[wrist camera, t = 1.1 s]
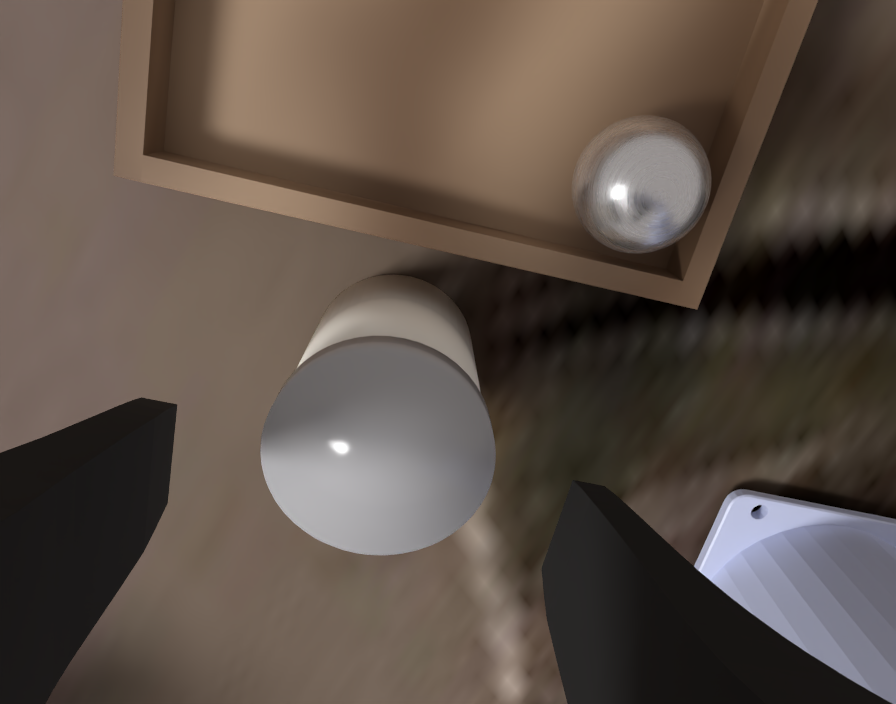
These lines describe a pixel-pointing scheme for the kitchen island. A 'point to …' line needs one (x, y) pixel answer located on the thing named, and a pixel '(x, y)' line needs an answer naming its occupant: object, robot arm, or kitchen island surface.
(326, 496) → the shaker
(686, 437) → the kitchen island surface
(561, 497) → the kitchen island surface
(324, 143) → the tray
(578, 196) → the steel ball
